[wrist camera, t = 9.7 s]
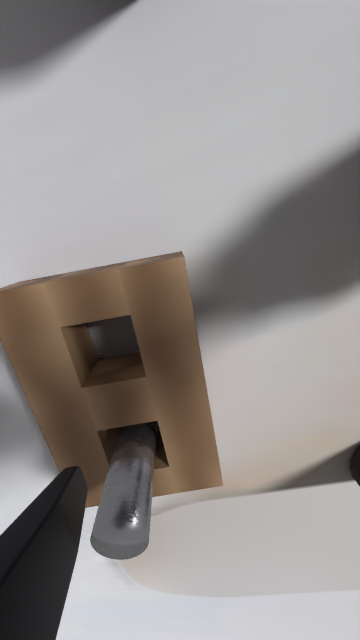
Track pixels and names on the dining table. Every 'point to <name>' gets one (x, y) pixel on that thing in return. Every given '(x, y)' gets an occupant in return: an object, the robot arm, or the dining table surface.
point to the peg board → (114, 369)
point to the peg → (127, 494)
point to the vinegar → (356, 466)
